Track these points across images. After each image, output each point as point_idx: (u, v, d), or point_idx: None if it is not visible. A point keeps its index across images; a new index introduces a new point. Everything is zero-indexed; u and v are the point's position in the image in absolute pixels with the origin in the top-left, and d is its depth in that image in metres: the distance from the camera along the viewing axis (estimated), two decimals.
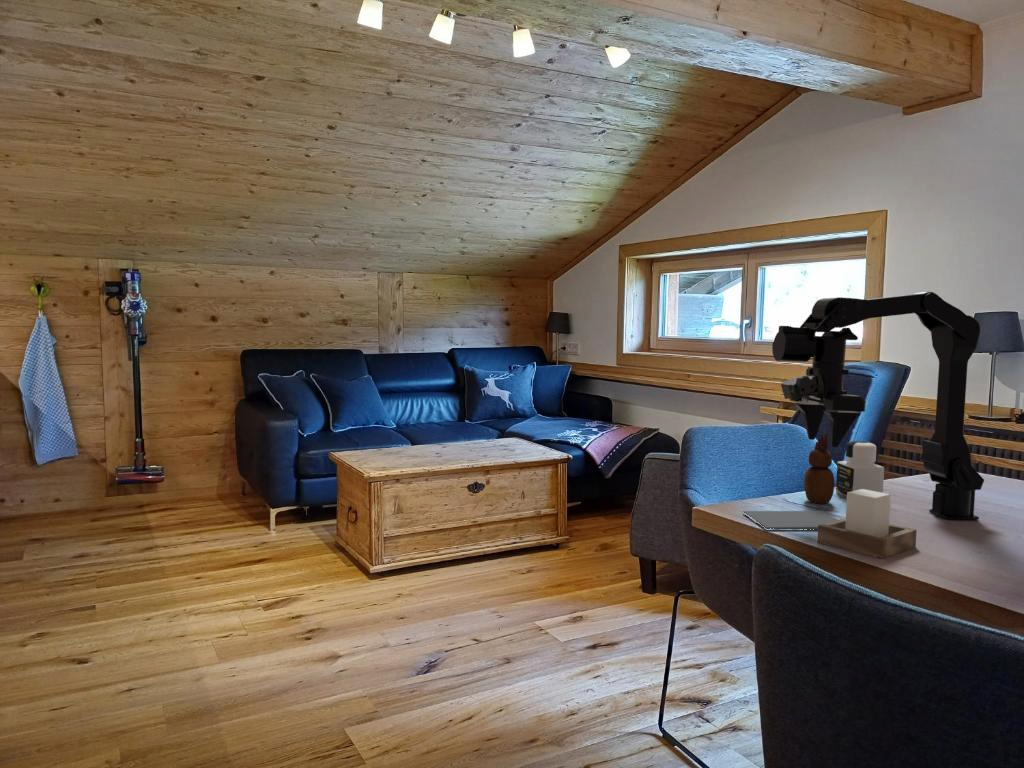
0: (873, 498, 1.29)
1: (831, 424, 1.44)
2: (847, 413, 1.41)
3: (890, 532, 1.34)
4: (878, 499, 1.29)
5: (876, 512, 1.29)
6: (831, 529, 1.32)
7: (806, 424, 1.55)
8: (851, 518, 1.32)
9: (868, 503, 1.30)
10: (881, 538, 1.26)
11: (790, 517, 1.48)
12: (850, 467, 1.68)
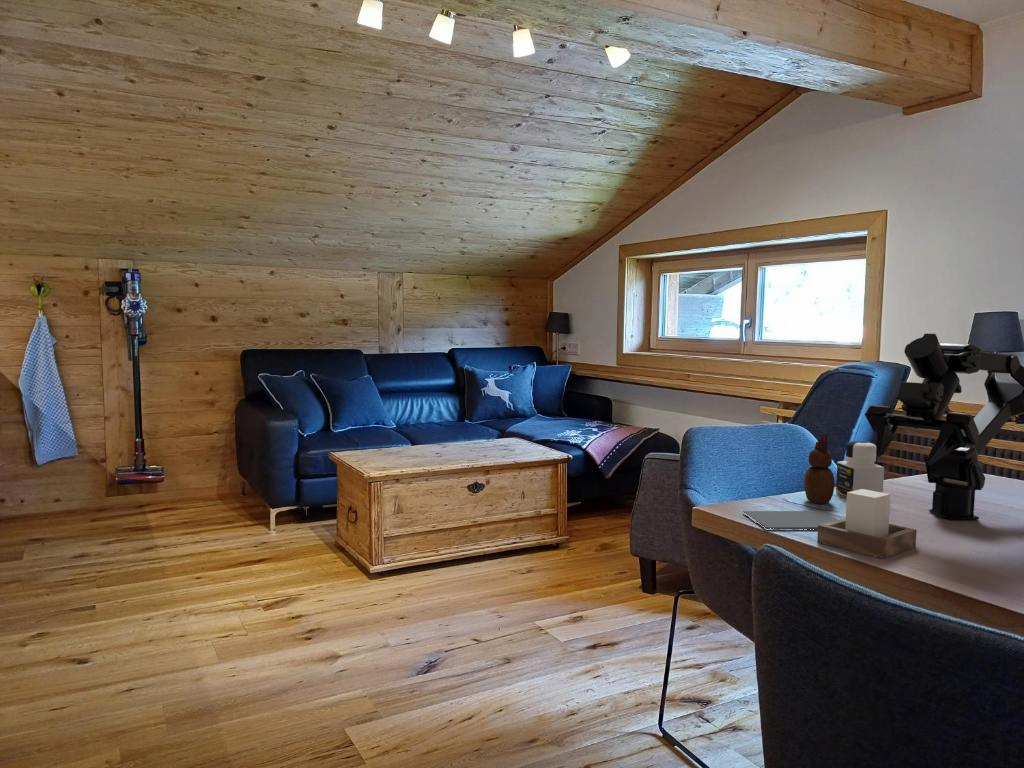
0: (873, 498, 1.29)
1: (940, 440, 1.37)
2: (963, 437, 1.37)
3: (890, 532, 1.34)
4: (878, 499, 1.29)
5: (876, 512, 1.29)
6: (831, 529, 1.32)
7: (880, 439, 1.45)
8: (851, 518, 1.32)
9: (868, 503, 1.30)
10: (881, 538, 1.26)
11: (790, 517, 1.48)
12: (850, 467, 1.68)
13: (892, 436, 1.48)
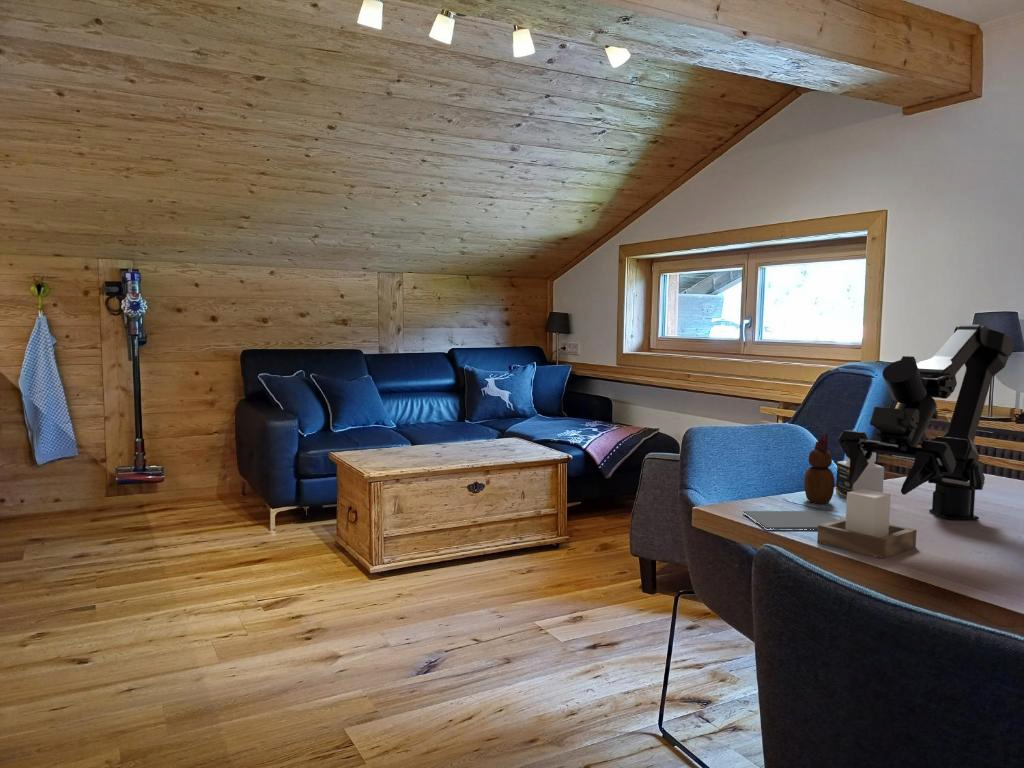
0: (873, 498, 1.29)
1: (915, 468, 1.30)
2: (938, 466, 1.30)
3: (890, 532, 1.34)
4: (878, 499, 1.29)
5: (876, 512, 1.29)
6: (831, 529, 1.32)
7: (853, 466, 1.38)
8: (851, 518, 1.32)
9: (868, 503, 1.30)
10: (881, 538, 1.26)
11: (790, 517, 1.48)
12: None
13: (866, 463, 1.41)
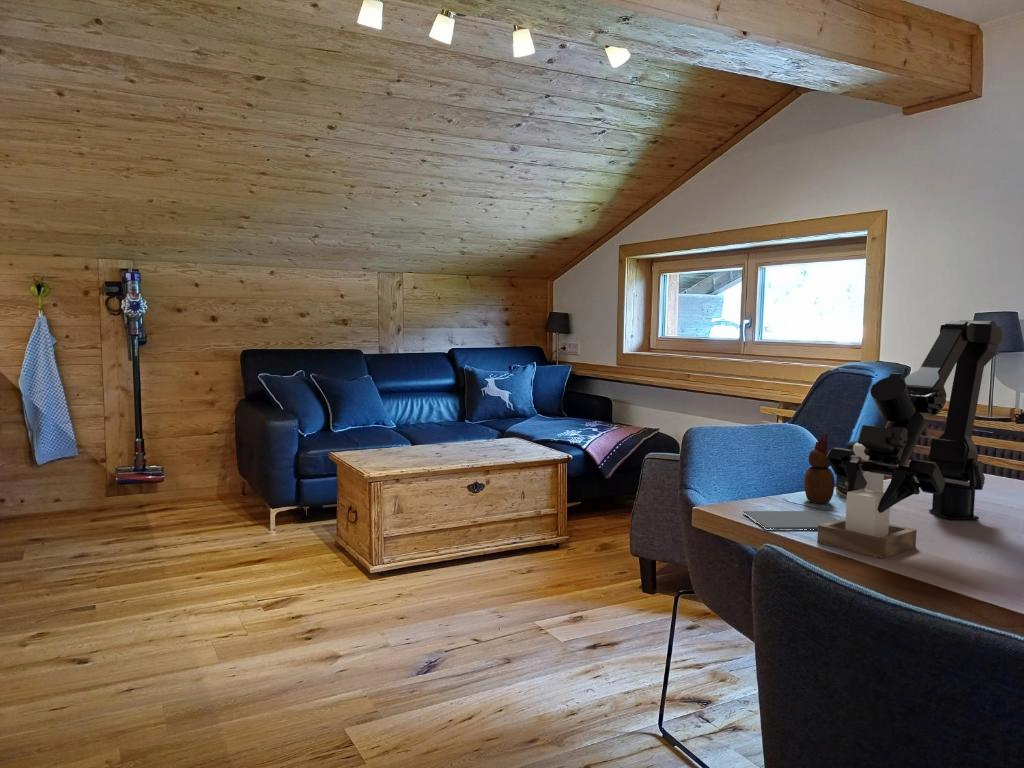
0: (873, 498, 1.29)
1: (891, 486, 1.30)
2: (915, 484, 1.29)
3: (890, 532, 1.34)
4: (878, 499, 1.29)
5: (876, 512, 1.29)
6: (831, 529, 1.32)
7: (851, 487, 1.34)
8: (851, 518, 1.32)
9: (868, 502, 1.30)
10: (881, 538, 1.26)
11: (790, 517, 1.48)
12: None
13: (865, 483, 1.37)
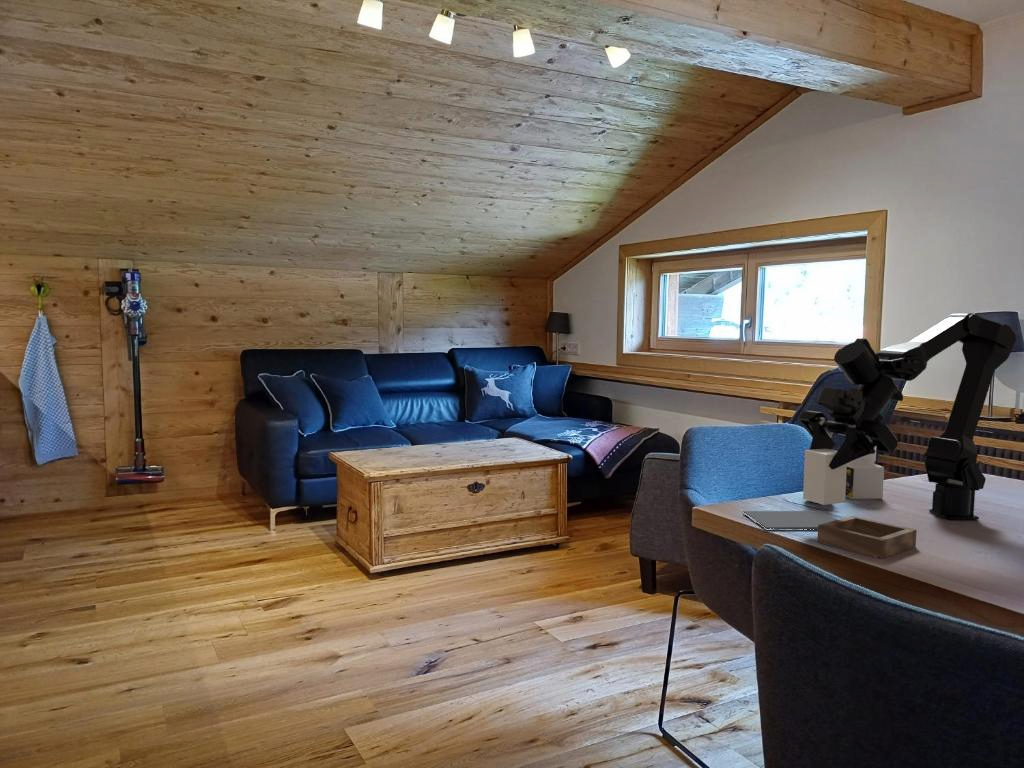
0: (824, 455, 1.36)
1: (844, 445, 1.36)
2: (868, 443, 1.35)
3: (890, 532, 1.34)
4: (830, 456, 1.36)
5: (827, 469, 1.36)
6: (831, 529, 1.32)
7: (813, 446, 1.42)
8: (808, 474, 1.40)
9: (820, 459, 1.37)
10: (881, 538, 1.26)
11: (790, 517, 1.48)
12: (850, 467, 1.68)
13: (832, 444, 1.44)
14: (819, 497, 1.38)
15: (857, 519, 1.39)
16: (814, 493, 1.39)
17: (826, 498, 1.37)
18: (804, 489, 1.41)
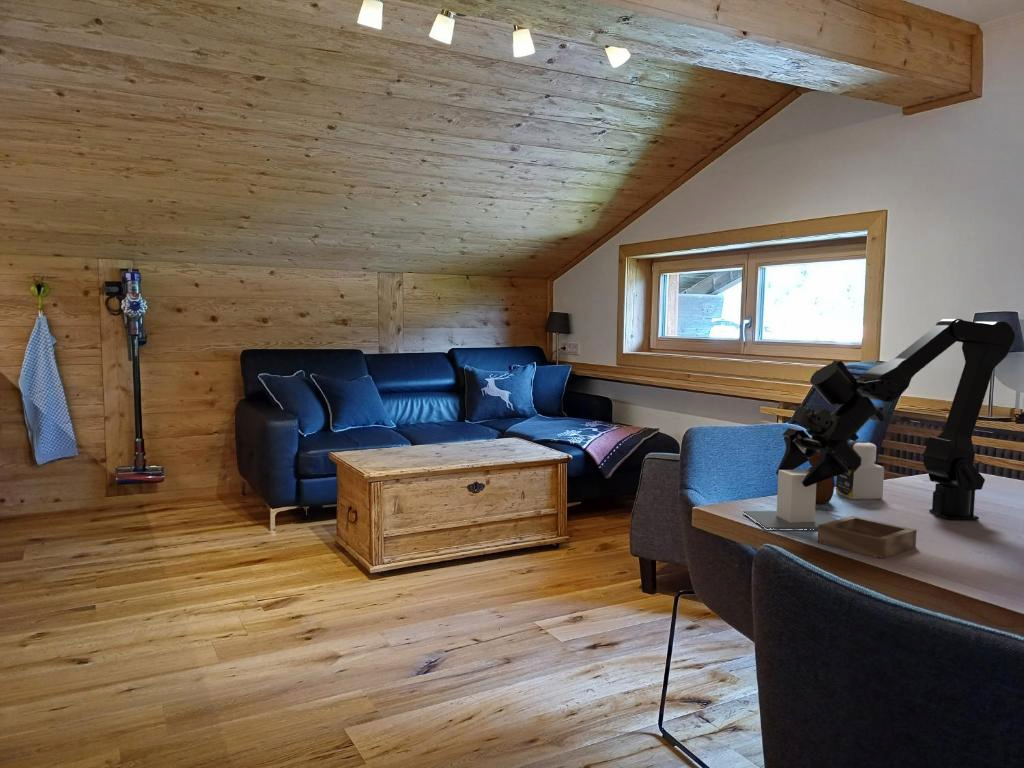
0: (791, 475, 1.44)
1: (817, 464, 1.41)
2: (840, 463, 1.39)
3: (890, 532, 1.34)
4: (797, 477, 1.44)
5: (794, 488, 1.44)
6: (831, 529, 1.32)
7: (783, 460, 1.51)
8: (780, 493, 1.48)
9: (788, 479, 1.45)
10: (881, 538, 1.26)
11: None
12: None
13: (805, 459, 1.52)
14: (787, 515, 1.45)
15: (857, 519, 1.39)
16: (783, 511, 1.47)
17: (792, 516, 1.44)
18: (777, 507, 1.49)
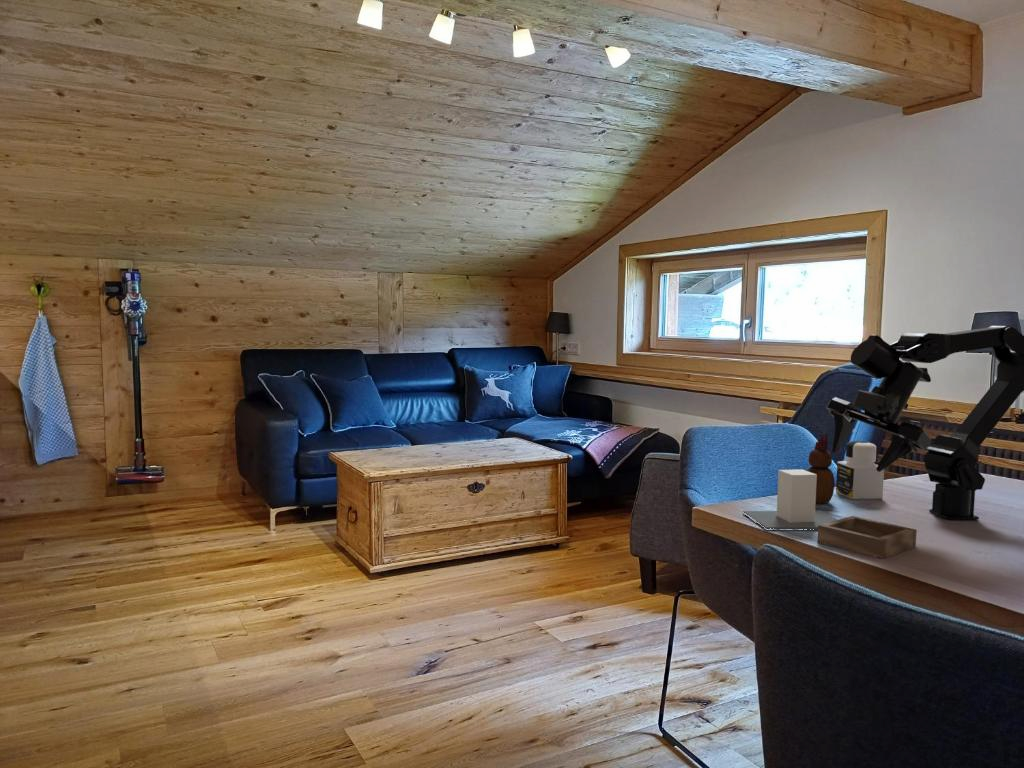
0: (791, 475, 1.44)
1: (891, 449, 1.43)
2: (913, 446, 1.42)
3: (890, 532, 1.34)
4: (797, 477, 1.44)
5: (794, 488, 1.44)
6: (831, 529, 1.32)
7: (837, 437, 1.51)
8: (780, 493, 1.48)
9: (788, 479, 1.45)
10: (881, 538, 1.26)
11: None
12: (850, 467, 1.68)
13: (851, 427, 1.53)
14: (787, 515, 1.45)
15: (857, 519, 1.39)
16: (783, 511, 1.47)
17: (792, 516, 1.44)
18: (777, 507, 1.49)
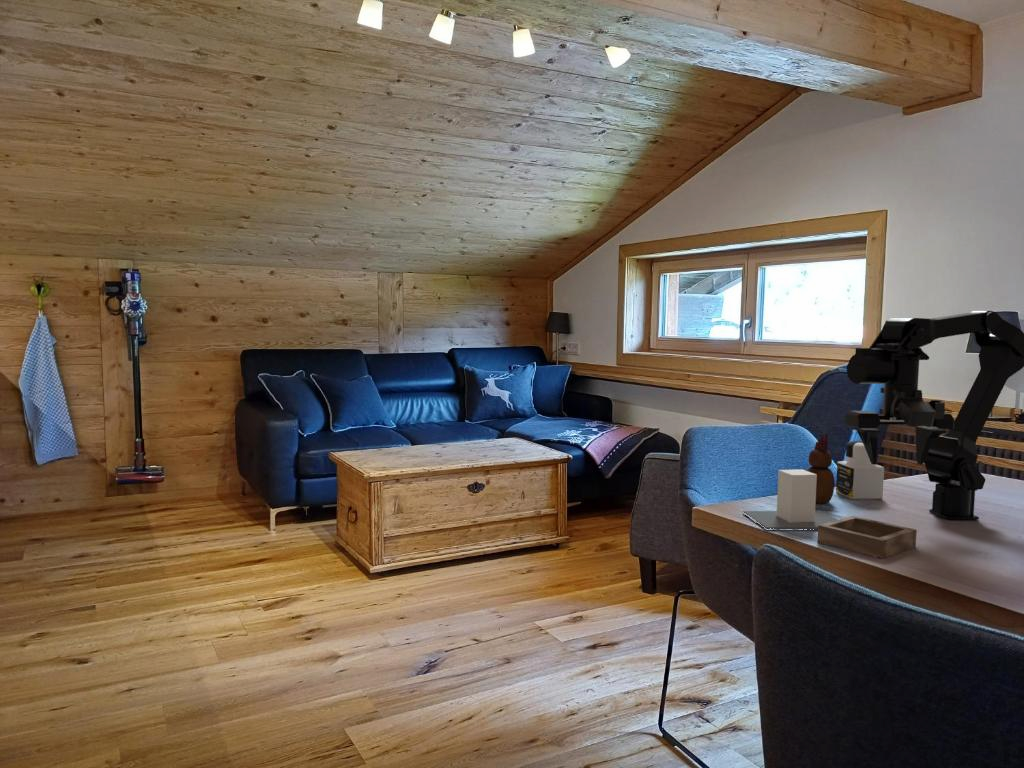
0: (791, 475, 1.44)
1: (929, 443, 1.47)
2: None
3: (890, 532, 1.34)
4: (797, 477, 1.44)
5: (794, 488, 1.44)
6: (831, 529, 1.32)
7: (875, 449, 1.47)
8: (780, 493, 1.48)
9: (788, 479, 1.45)
10: (881, 538, 1.26)
11: None
12: (850, 467, 1.68)
13: None
14: (787, 515, 1.45)
15: (857, 519, 1.39)
16: (783, 511, 1.47)
17: (792, 516, 1.44)
18: (777, 507, 1.49)
